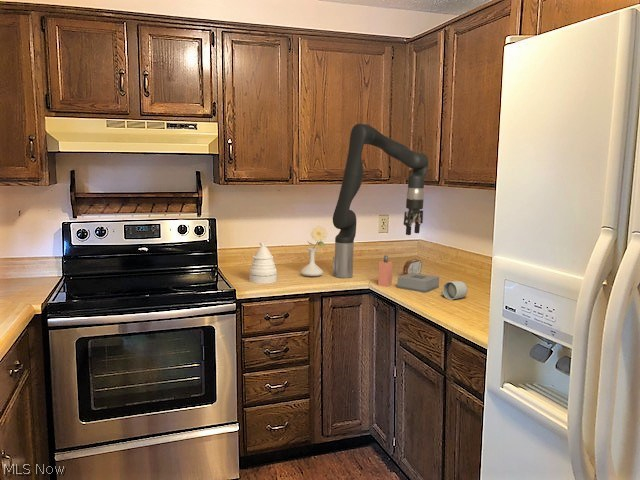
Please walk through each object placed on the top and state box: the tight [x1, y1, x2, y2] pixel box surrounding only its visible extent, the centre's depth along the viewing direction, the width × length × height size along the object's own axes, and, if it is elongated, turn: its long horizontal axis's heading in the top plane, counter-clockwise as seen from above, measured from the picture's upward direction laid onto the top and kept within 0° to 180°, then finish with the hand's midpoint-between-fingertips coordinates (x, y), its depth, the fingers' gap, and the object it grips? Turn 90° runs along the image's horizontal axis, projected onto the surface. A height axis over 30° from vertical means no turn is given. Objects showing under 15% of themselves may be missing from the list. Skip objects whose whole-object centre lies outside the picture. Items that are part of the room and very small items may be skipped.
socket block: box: [396, 273, 440, 294], centre depth 245 cm, size 14×14×5 cm
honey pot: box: [249, 241, 278, 285], centre depth 253 cm, size 13×13×18 cm
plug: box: [377, 254, 393, 288], centre depth 248 cm, size 4×4×14 cm
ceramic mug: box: [440, 280, 468, 301], centre depth 227 cm, size 11×8×8 cm
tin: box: [402, 258, 423, 275], centre depth 271 cm, size 15×3×8 cm, turn 141°
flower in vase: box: [300, 226, 328, 277], centre depth 266 cm, size 13×11×25 cm
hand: (412, 234), depth 241 cm, fingers open, 8 cm apart
